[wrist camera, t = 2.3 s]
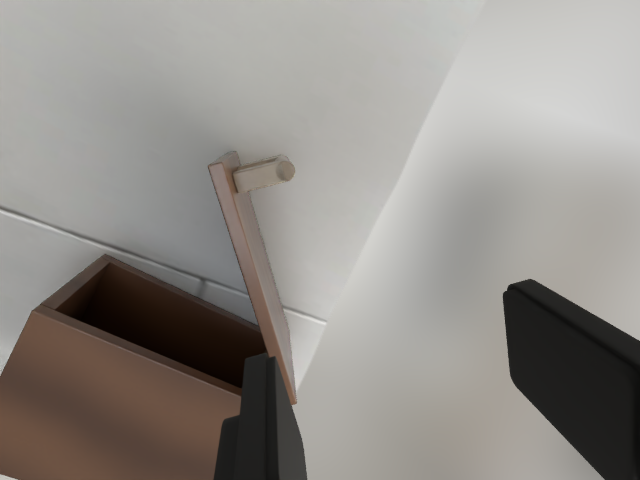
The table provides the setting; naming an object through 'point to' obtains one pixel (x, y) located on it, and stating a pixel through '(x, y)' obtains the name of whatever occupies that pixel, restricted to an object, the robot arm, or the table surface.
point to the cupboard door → (256, 247)
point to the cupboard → (121, 381)
